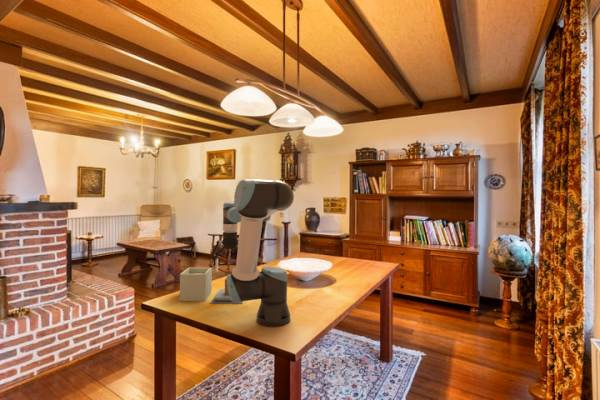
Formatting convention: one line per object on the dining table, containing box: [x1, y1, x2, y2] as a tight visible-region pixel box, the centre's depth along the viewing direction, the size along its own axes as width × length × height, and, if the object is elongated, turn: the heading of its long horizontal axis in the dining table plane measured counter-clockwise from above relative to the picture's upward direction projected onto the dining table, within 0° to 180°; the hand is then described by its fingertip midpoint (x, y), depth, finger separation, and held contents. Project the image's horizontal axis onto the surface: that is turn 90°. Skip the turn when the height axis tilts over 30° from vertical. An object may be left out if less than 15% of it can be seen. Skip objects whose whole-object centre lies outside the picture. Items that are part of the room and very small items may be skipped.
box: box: [179, 267, 213, 302], centre depth 160 cm, size 13×13×14 cm
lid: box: [213, 276, 231, 301], centre depth 158 cm, size 13×13×10 cm
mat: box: [209, 291, 244, 305], centre depth 159 cm, size 16×16×1 cm
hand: (229, 271), depth 158 cm, fingers open, 13 cm apart
